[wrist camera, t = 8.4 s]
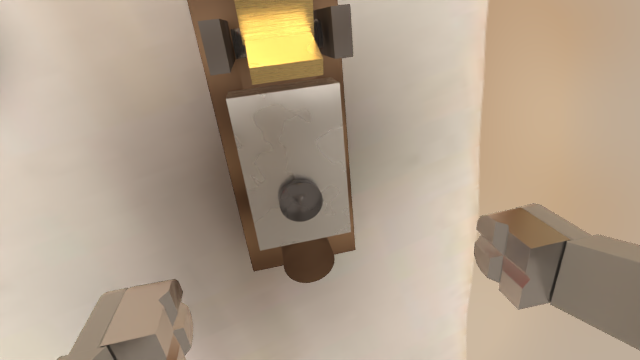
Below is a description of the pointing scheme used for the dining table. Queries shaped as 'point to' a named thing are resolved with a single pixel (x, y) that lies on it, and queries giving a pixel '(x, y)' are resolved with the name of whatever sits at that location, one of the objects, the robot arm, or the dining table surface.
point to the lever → (278, 39)
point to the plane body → (233, 74)
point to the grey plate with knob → (292, 160)
